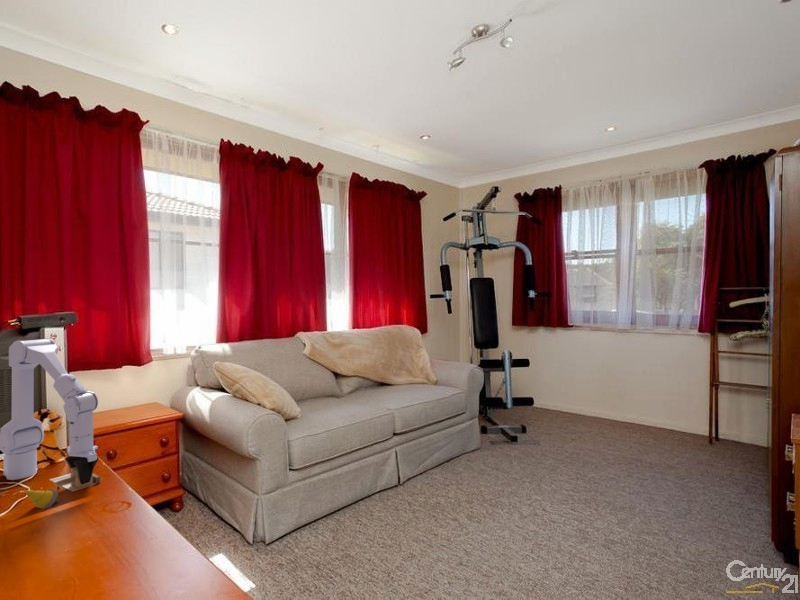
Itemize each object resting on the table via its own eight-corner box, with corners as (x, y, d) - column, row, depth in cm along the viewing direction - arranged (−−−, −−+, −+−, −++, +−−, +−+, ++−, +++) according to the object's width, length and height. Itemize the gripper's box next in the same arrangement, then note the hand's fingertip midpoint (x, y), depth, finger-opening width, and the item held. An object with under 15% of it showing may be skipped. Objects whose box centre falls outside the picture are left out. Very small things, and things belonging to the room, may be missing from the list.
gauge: (53, 490, 124) (52, 473, 124) (86, 480, 131) (86, 463, 131) (59, 494, 121) (58, 476, 121) (92, 483, 128) (92, 466, 128)
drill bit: (62, 510, 115) (29, 495, 109) (44, 519, 116) (10, 504, 109) (69, 491, 120) (37, 476, 113) (51, 500, 120) (18, 485, 113)
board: (49, 483, 132) (49, 473, 132) (76, 475, 138) (76, 466, 138) (72, 495, 123) (72, 485, 123) (100, 486, 129) (100, 476, 129)
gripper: (108, 435, 127) (108, 481, 127) (85, 427, 135) (86, 471, 135) (80, 441, 121) (80, 490, 121) (58, 433, 129) (59, 479, 129)
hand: (81, 481), depth 128 cm, fingers closed on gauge, 4 cm apart
